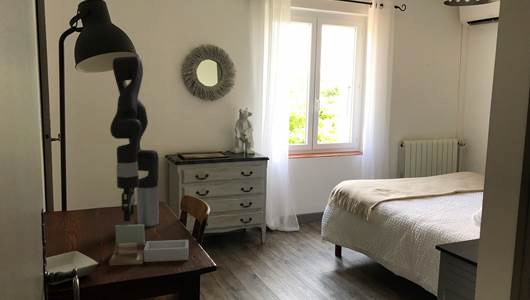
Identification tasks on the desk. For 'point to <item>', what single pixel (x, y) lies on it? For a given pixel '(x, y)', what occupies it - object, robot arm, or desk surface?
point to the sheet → (130, 234)
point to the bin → (166, 250)
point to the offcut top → (128, 248)
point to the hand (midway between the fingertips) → (129, 217)
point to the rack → (129, 262)
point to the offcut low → (125, 256)
